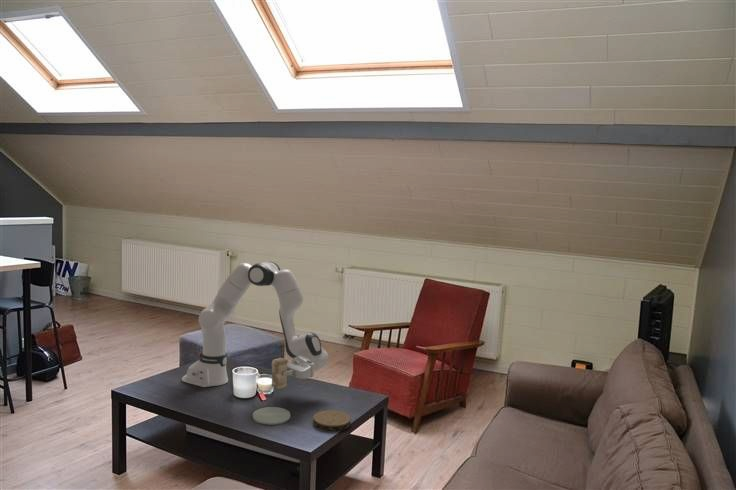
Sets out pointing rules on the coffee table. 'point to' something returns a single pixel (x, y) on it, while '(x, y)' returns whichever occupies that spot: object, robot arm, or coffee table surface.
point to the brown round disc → (331, 420)
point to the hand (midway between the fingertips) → (278, 372)
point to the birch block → (279, 373)
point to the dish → (271, 415)
